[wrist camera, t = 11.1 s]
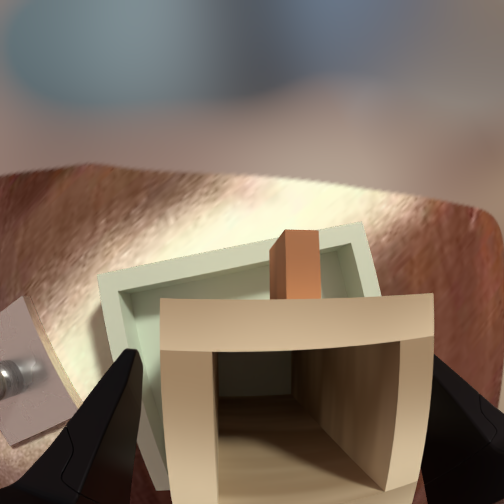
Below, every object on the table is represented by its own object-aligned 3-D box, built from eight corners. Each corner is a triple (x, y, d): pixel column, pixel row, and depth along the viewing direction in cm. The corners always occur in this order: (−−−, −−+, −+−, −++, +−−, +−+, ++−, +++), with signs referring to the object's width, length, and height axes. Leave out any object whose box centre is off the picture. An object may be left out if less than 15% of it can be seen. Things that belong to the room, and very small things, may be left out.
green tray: (378, 413, 17) (401, 426, 14) (164, 467, 15) (156, 490, 12) (342, 234, 19) (362, 221, 16) (115, 280, 17) (96, 274, 14)
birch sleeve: (307, 408, 16) (410, 507, 5) (201, 412, 15) (178, 540, 5) (308, 277, 17) (427, 226, 7) (199, 277, 17) (163, 216, 6)
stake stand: (86, 408, 15) (54, 431, 11) (16, 441, 14) (-18, 461, 9) (30, 296, 16) (-11, 290, 12) (-31, 344, 15) (-70, 346, 10)
